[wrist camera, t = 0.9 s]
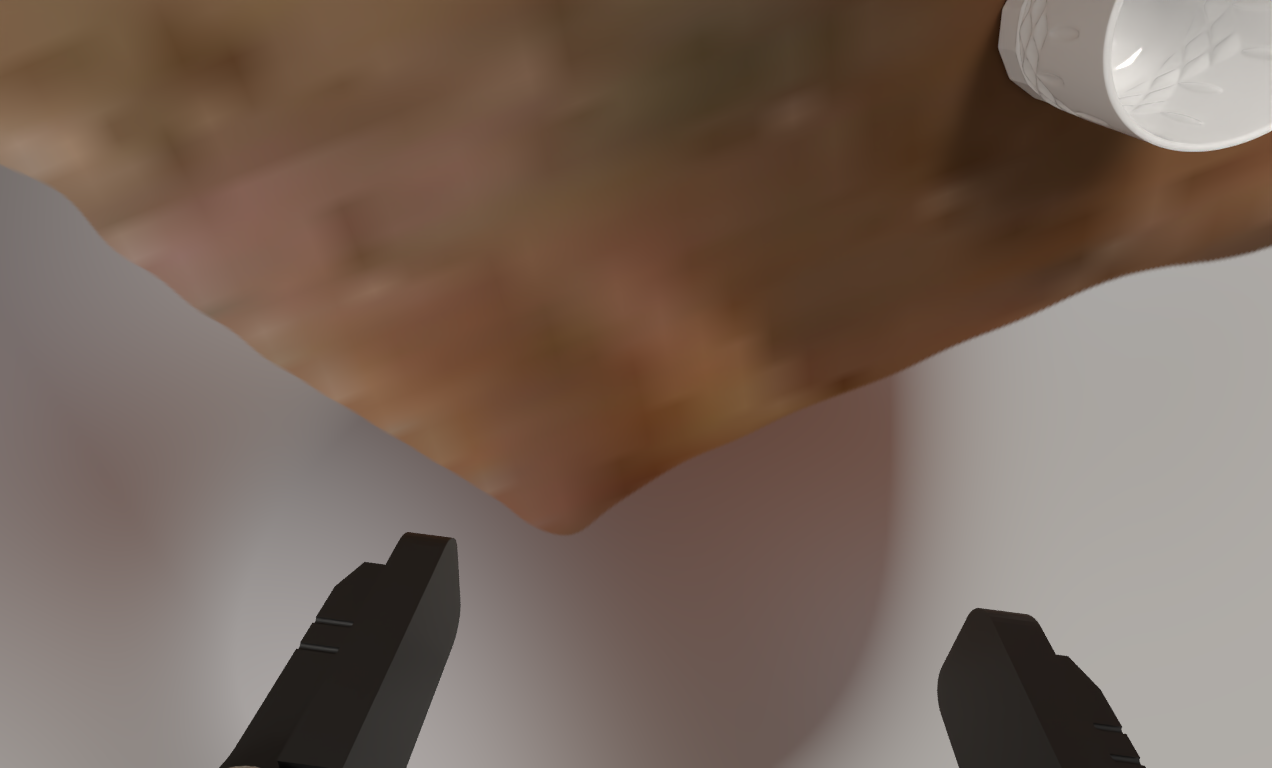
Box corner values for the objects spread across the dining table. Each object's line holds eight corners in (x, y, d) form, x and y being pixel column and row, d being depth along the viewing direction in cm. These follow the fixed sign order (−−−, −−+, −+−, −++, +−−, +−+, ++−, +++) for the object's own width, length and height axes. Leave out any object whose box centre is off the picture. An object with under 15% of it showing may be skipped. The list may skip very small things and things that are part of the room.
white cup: (944, 51, 30) (1048, 65, 21) (1087, -138, 26) (1282, -214, 18) (1071, 147, 32) (1216, 197, 23) (1222, -20, 28) (1462, -36, 19)
